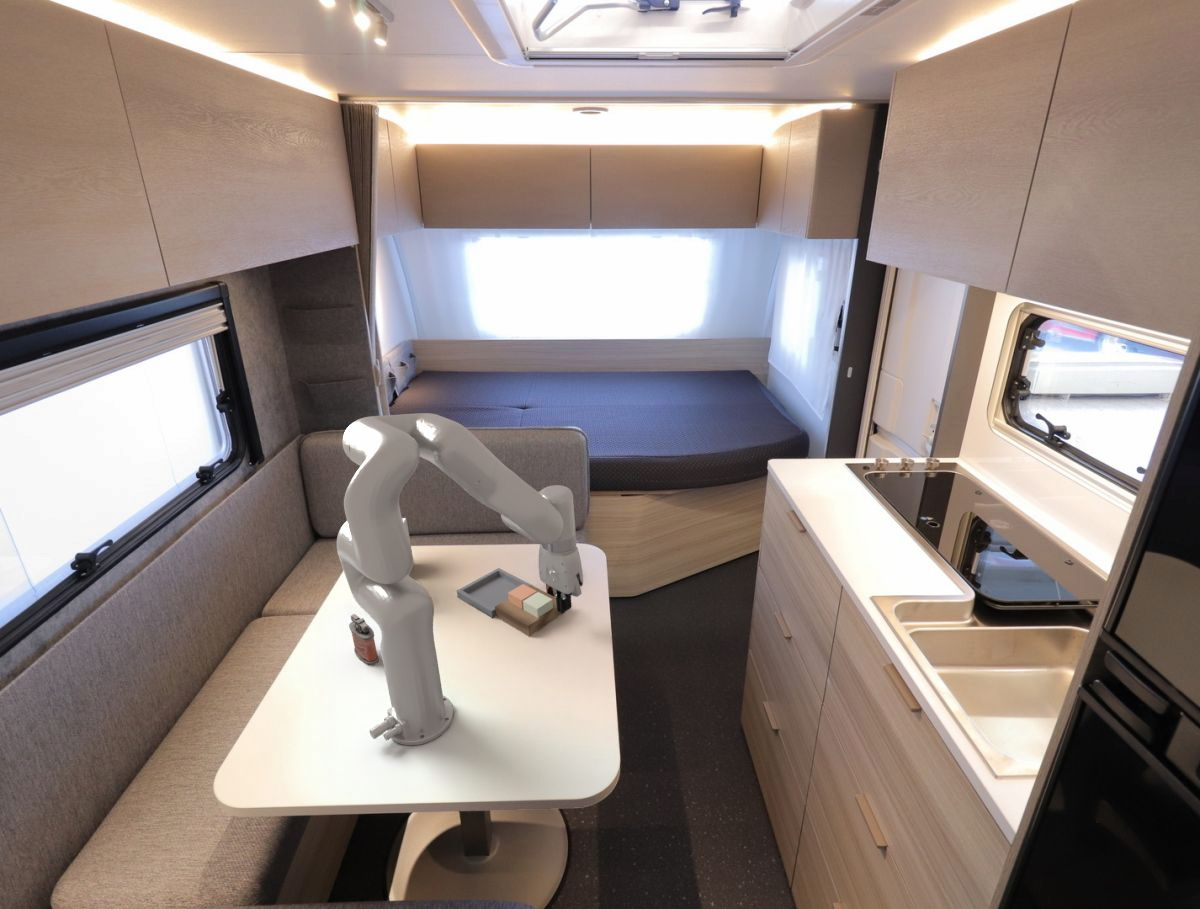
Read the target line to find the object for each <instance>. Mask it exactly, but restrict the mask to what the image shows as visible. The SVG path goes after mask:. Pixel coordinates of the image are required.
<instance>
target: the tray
mask: <svg viewBox="0 0 1200 909" xmlns="http://www.w3.org/2000/svg"><path fill="white" fill-rule="evenodd" d="M522 584H524V585H526V586H528V587H529V586H530V585H532V586H534V585H533V584H530V583H529V582H527V581H524V580H523V579H521V578H519V577H517V576H515V575H513V574H511V573H509V572H507V571H506V570H504V569H501V568H500V567H498V568H495V569H494V570H492V571H490V572H488V573H487V574H485V575H483V576H481V577H479V578H477V579H476V580H474V581H472V582H470V583H468V584H466V585H464V586H463V587H461V588H459V589H458V590H456V597H457V598H458V599H459V600H461V601H463V602H464V603H466V604H468V605H469V606H471V607H473V608H474V609H476V610H478V611H479V612H481V613H483V614H484V615H486V616H488V617H490V618H491V619H493V618H496V611H495V606H497V605H498V604H500V603H502V602H503V601H505V600H507V599H508V592H510V591H512V590H514V589H515V588H517V587H519V586H520V585H522Z"/></svg>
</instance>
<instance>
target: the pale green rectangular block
mask: <svg viewBox="0 0 1200 909" xmlns="http://www.w3.org/2000/svg"><path fill="white" fill-rule="evenodd" d="M523 608H524V610H525V611H526V612H528V613H530V614H532V615H534V616H535V617H537V618H539V617H540V616H542V615H543V614H545V613H546V612H548V611H549V610H551V609H552V608H553V601H552V599H551V598H549V597H547V596H545V595H543V594H541V593H539V592H537V593H535V594H534V595H532V596H530V597H529V598H527V599H526V600H524V601H523Z"/></svg>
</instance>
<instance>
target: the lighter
mask: <svg viewBox="0 0 1200 909" xmlns="http://www.w3.org/2000/svg"><path fill="white" fill-rule="evenodd" d="M350 619H351V620H350V621H351V622H350V623H349V624H348V625H349V626H348V627H349V630H350V631H351V632H350V633H351V637H352V641H353V645H354V649H353V650H354V654H355V655H356V657H357V659H358V660H359V661H360V662H362V663H363V664H365V665H367V666H369V667H371V666H375V665H377V664H378V663H379V662H380V658H379V657H380V656H379V655H378V652H377V647H376V642H375V641H376V640H375V632H374V630H373V629H372V627H371V626H370V625H368V623H367V622H366V620H365V619H364V618H363V617H362V618H361V617H359V616H358V615H357V614H355V613H352V614H351V615H350Z"/></svg>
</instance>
